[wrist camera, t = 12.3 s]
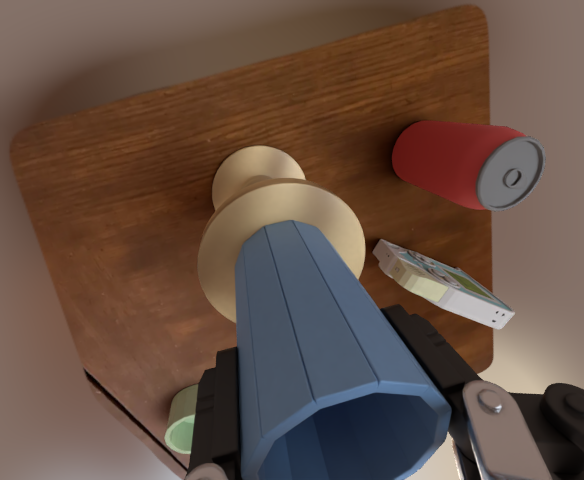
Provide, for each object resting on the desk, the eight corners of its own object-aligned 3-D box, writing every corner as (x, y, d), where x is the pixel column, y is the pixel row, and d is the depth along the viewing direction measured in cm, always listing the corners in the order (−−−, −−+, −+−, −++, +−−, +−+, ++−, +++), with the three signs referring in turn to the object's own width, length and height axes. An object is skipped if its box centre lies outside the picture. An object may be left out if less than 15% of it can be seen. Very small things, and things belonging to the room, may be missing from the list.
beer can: (419, 189, 33) (508, 229, 23) (377, 166, 31) (455, 199, 20) (454, 137, 31) (569, 153, 21) (411, 108, 29) (517, 110, 18)
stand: (201, 223, 30) (179, 319, 16) (227, 129, 26) (225, 154, 13) (287, 245, 33) (326, 340, 20) (320, 164, 29) (394, 213, 16)
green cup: (165, 421, 42) (158, 454, 38) (178, 380, 39) (172, 412, 35) (223, 423, 45) (222, 454, 41) (239, 385, 42) (240, 414, 38)
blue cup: (223, 296, 16) (217, 521, 8) (254, 208, 14) (293, 372, 6) (311, 312, 18) (387, 506, 9) (348, 236, 16) (490, 392, 7)
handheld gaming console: (373, 229, 37) (460, 266, 40) (362, 246, 38) (448, 282, 41) (413, 269, 26) (526, 315, 30) (397, 292, 27) (508, 334, 31)
